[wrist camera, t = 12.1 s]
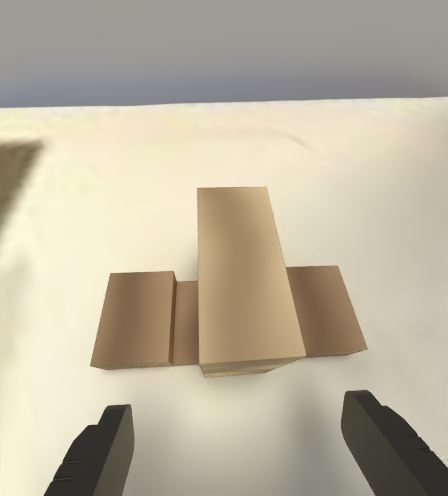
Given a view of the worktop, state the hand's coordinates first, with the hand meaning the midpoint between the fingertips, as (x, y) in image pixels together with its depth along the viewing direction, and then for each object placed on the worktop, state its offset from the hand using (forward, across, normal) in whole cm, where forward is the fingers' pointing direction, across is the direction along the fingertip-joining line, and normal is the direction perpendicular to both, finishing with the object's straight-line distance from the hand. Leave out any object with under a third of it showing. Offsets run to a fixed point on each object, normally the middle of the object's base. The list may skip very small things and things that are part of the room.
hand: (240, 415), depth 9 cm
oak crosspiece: (+9, 0, 0) cm, 9 cm away
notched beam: (+9, 0, +1) cm, 9 cm away
